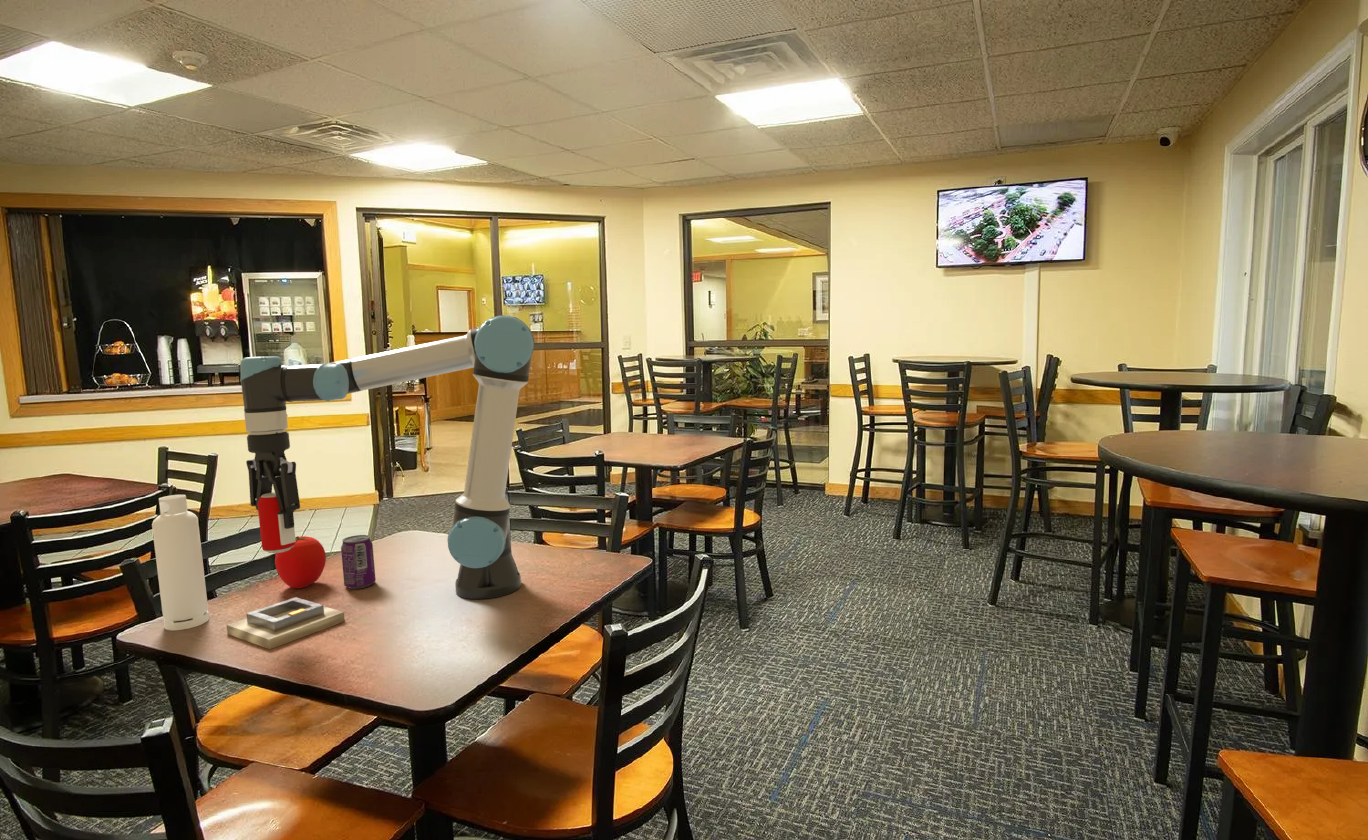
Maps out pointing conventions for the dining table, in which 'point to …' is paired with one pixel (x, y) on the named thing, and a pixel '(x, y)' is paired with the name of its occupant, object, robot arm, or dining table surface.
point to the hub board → (285, 635)
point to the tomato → (301, 562)
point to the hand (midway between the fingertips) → (278, 541)
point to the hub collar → (302, 613)
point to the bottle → (179, 564)
